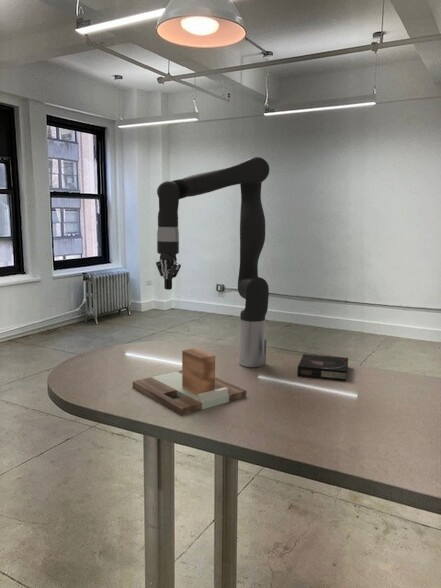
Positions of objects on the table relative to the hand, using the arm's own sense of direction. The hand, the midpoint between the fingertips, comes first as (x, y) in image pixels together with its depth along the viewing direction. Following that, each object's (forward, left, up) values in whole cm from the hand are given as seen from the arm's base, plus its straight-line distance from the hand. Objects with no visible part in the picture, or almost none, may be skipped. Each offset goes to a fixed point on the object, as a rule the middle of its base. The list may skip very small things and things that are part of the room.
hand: (168, 289), depth 173 cm
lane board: (+8, +24, -29) cm, 38 cm away
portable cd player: (-43, +36, -30) cm, 63 cm away
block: (+8, +30, -27) cm, 41 cm away
